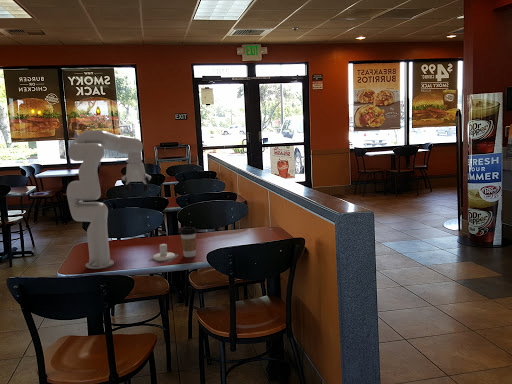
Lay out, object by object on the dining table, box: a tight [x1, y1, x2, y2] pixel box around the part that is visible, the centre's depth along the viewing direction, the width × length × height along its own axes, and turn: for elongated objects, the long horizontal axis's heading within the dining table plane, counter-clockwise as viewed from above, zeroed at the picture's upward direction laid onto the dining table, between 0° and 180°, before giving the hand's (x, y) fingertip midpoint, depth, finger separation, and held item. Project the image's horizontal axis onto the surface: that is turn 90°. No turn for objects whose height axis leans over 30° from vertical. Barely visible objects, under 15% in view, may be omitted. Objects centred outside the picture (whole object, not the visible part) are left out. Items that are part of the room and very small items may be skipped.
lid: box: [152, 243, 176, 262], centre depth 239 cm, size 11×11×7 cm
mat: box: [148, 253, 179, 262], centre depth 240 cm, size 12×12×1 cm
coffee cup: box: [179, 226, 197, 258], centre depth 241 cm, size 8×8×15 cm
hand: (137, 191), depth 270 cm, fingers open, 9 cm apart
